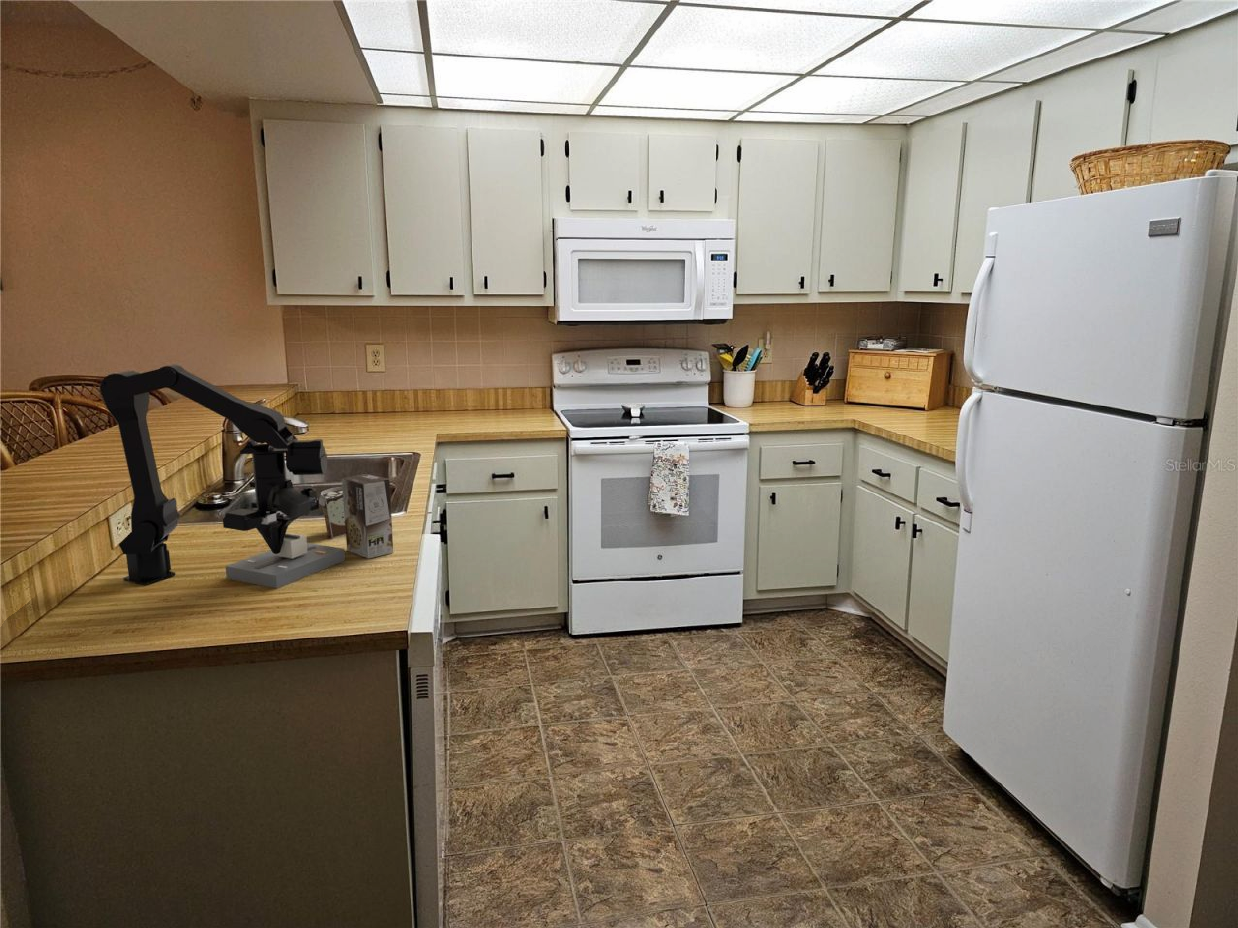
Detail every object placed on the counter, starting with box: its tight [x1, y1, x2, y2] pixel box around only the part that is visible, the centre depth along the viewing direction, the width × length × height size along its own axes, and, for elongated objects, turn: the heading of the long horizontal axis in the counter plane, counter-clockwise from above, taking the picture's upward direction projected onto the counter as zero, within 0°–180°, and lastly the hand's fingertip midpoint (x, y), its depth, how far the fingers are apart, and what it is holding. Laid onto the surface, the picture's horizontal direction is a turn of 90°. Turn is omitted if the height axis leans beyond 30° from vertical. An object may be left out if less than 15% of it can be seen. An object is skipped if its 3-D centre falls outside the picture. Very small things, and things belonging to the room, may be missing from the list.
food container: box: [318, 486, 346, 540], centre depth 187 cm, size 12×6×10 cm, turn 144°
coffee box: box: [341, 473, 394, 559], centre depth 172 cm, size 9×6×16 cm
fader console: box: [225, 542, 346, 589], centre depth 161 cm, size 18×13×3 cm
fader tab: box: [273, 532, 308, 558], centre depth 161 cm, size 4×5×4 cm
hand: (276, 553), depth 158 cm, fingers closed
